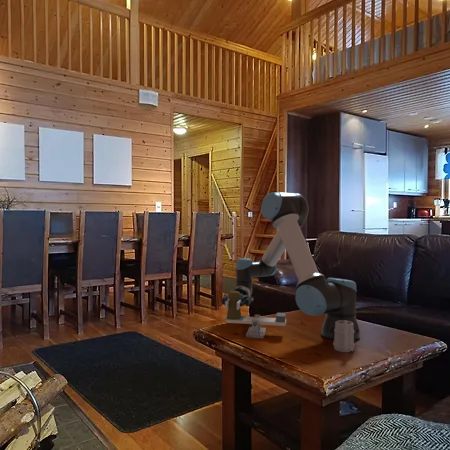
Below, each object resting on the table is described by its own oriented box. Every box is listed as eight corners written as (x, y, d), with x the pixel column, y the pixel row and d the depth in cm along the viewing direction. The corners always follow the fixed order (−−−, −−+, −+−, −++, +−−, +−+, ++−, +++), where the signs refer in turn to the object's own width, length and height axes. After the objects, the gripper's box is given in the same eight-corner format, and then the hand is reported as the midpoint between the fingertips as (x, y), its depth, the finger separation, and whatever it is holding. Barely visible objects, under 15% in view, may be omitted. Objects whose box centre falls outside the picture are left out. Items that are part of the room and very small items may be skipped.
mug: (353, 346, 158) (354, 314, 158) (357, 357, 147) (357, 322, 146) (332, 345, 160) (332, 313, 159) (334, 355, 148) (335, 321, 148)
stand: (265, 330, 179) (266, 314, 179) (263, 338, 168) (263, 321, 167) (249, 329, 181) (249, 313, 180) (245, 337, 169) (246, 320, 169)
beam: (286, 321, 175) (286, 312, 175) (285, 325, 168) (285, 316, 168) (227, 318, 180) (227, 309, 180) (224, 322, 173) (224, 313, 173)
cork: (244, 318, 175) (244, 291, 175) (232, 320, 172) (232, 293, 171) (235, 315, 180) (235, 289, 180) (223, 317, 176) (224, 290, 176)
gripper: (259, 304, 192) (252, 316, 169) (222, 302, 195) (211, 314, 172) (259, 287, 191) (253, 297, 169) (222, 286, 195) (211, 295, 172)
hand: (231, 305), depth 170 cm, fingers closed on cork, 4 cm apart
